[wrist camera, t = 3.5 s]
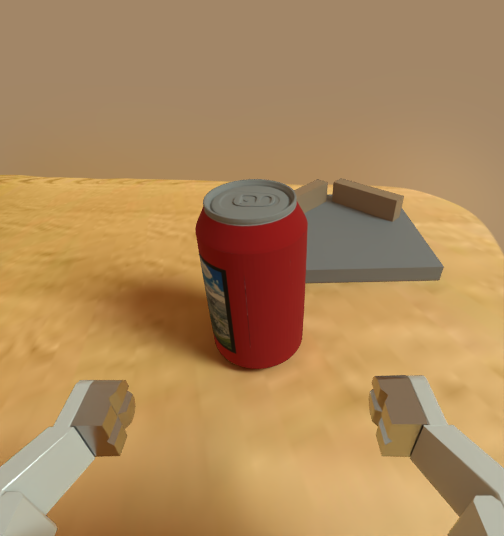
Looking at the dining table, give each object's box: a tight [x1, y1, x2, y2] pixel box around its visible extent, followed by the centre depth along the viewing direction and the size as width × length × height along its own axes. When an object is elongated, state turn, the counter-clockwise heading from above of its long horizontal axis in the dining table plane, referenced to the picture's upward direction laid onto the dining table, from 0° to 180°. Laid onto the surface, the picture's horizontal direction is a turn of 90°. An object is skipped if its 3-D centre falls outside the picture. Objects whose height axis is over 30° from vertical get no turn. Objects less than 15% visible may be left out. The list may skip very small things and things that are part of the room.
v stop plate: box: [294, 179, 444, 283], centre depth 37 cm, size 16×16×4 cm
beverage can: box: [196, 179, 308, 369], centre depth 23 cm, size 7×7×12 cm
